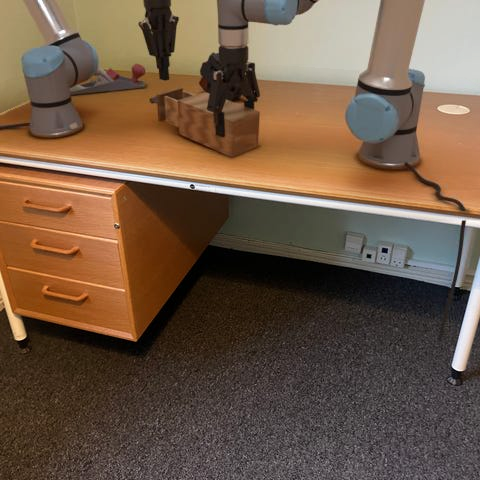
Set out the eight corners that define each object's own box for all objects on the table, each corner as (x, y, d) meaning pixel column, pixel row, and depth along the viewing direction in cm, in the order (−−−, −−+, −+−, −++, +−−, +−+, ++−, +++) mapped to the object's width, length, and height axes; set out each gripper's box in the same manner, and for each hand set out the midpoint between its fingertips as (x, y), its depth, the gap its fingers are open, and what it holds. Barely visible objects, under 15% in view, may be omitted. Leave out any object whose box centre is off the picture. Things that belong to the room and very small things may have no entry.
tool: (204, 81, 194) (218, 46, 183) (240, 115, 190) (257, 82, 179) (193, 84, 190) (206, 49, 179) (229, 120, 186) (245, 86, 175)
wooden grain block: (178, 134, 154) (177, 100, 148) (205, 124, 160) (204, 91, 154) (232, 157, 142) (233, 121, 136) (258, 146, 148) (259, 111, 143)
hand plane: (62, 90, 197) (53, 48, 189) (145, 82, 205) (140, 41, 197) (62, 96, 191) (54, 53, 184) (148, 87, 199) (143, 45, 191)
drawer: (146, 115, 162) (144, 89, 157) (169, 108, 168) (168, 82, 163) (204, 141, 148) (204, 112, 143) (228, 132, 153) (228, 104, 149)
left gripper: (165, -12, 150) (172, 72, 163) (128, -7, 142) (138, 81, 155) (183, -10, 146) (189, 76, 158) (145, -5, 138) (155, 86, 150)
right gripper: (253, 35, 142) (252, 116, 154) (189, 51, 128) (194, 138, 140) (274, 39, 138) (272, 122, 149) (210, 56, 123) (214, 145, 135)
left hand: (164, 79), depth 157 cm, fingers closed
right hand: (234, 130), depth 144 cm, fingers closed on wooden grain block, 10 cm apart
